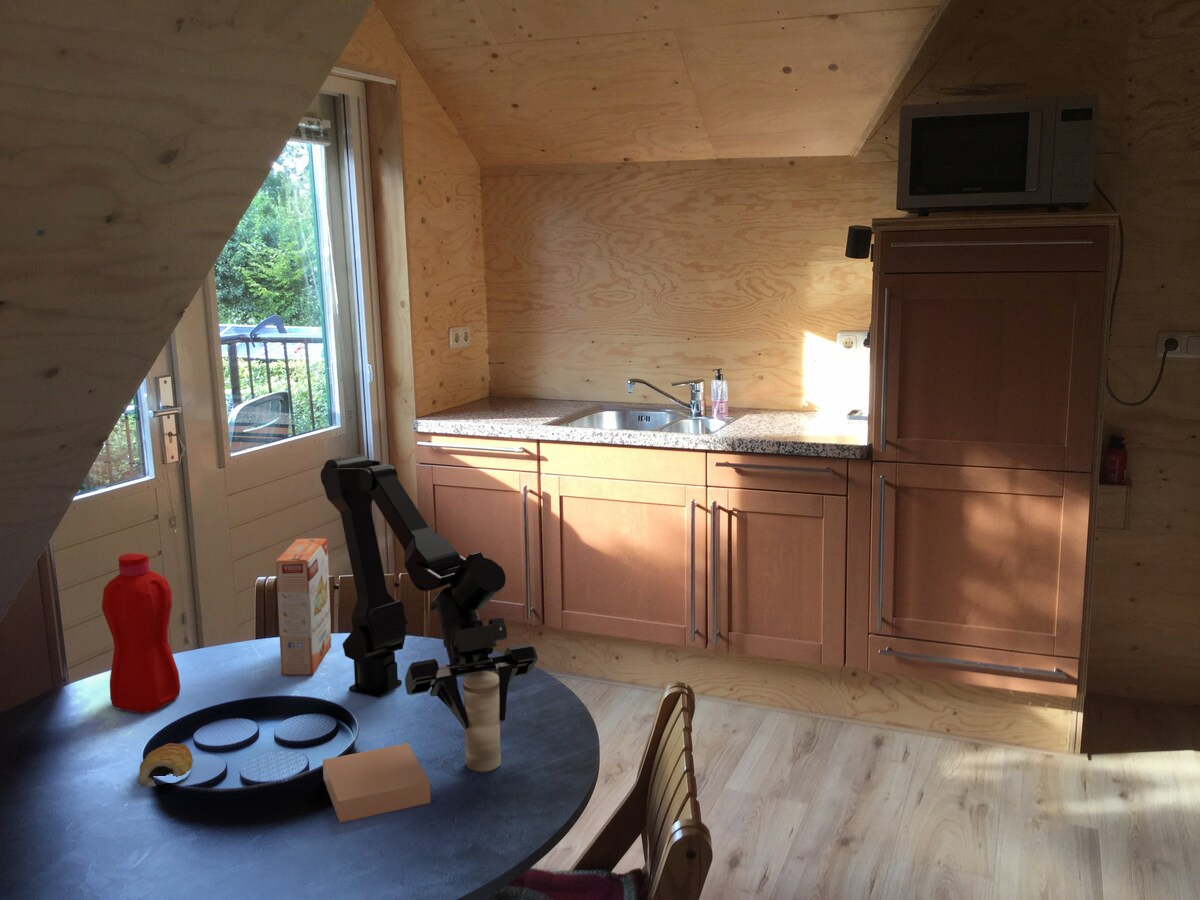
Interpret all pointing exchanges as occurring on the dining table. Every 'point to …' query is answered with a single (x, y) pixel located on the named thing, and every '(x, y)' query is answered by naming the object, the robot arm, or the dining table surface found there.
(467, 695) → the birch column
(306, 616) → the cracker box
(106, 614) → the red bottle
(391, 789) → the terracotta plinth
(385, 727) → the dining table surface
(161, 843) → the dining table surface
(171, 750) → the pastry
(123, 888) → the dining table surface
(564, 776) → the dining table surface
